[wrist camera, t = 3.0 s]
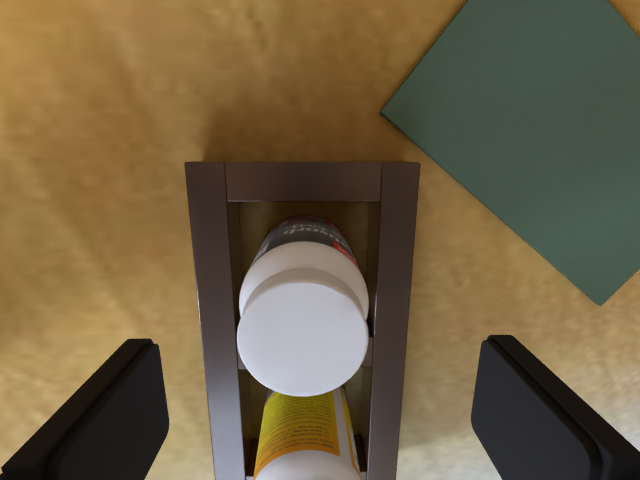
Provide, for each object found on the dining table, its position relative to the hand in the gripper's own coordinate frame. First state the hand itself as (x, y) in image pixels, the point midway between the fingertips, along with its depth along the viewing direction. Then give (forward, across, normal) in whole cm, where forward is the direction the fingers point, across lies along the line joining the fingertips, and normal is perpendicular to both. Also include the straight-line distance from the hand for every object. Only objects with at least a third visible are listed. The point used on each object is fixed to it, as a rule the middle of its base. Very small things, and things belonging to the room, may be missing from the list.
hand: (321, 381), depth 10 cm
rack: (+12, +1, +5) cm, 13 cm away
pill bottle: (+12, +1, 0) cm, 12 cm away
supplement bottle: (+12, +1, +10) cm, 16 cm away
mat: (+12, -15, -7) cm, 21 cm away
